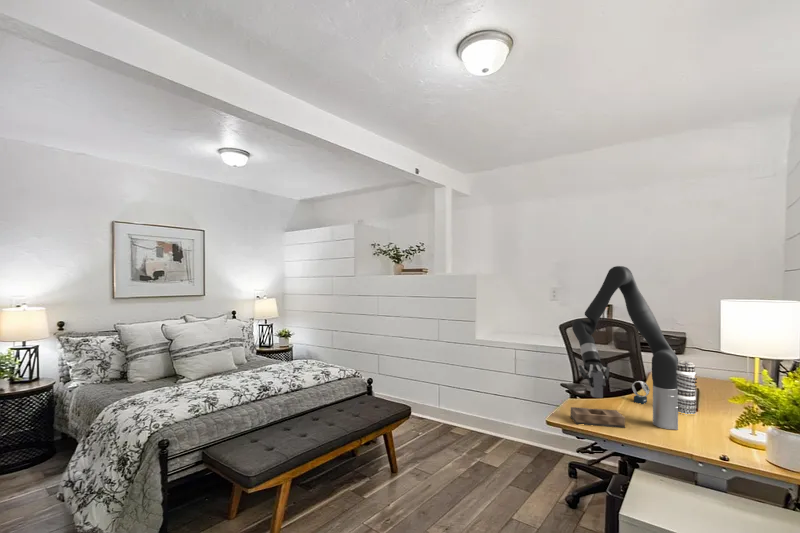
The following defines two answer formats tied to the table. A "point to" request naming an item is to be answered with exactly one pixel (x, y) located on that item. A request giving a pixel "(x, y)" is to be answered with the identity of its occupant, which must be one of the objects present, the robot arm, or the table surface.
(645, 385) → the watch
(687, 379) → the model tower building
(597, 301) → the robot arm
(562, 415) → the table surface
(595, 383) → the grey rectangular block
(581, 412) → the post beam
